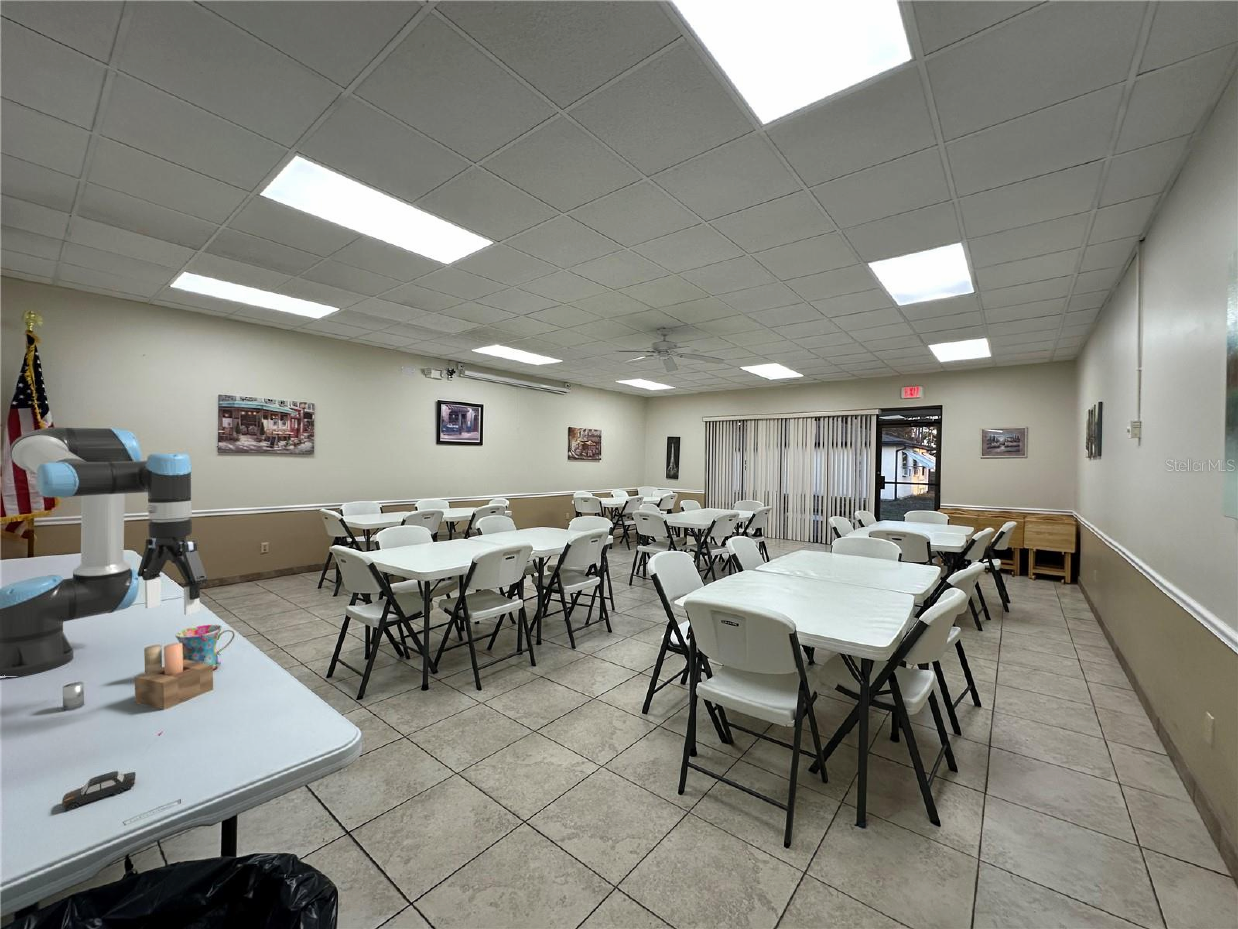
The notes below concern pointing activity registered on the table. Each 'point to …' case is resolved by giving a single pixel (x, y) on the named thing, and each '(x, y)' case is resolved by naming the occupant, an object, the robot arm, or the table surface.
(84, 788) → the toy car
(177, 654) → the long pin
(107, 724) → the table surface
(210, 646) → the mug
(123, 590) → the robot arm
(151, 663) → the medium pin
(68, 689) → the short pin
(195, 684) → the block
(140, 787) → the table surface
